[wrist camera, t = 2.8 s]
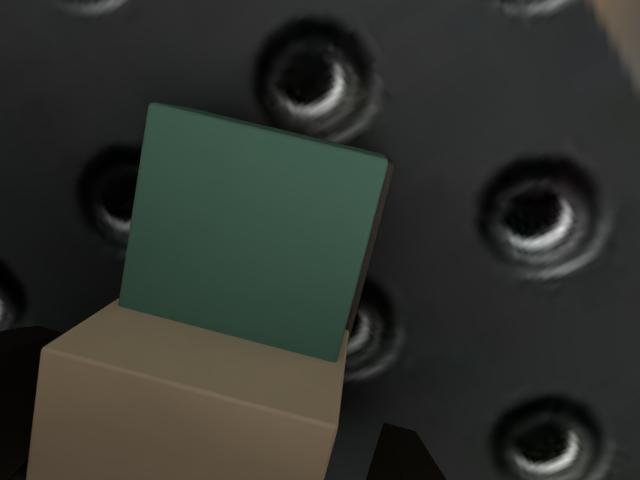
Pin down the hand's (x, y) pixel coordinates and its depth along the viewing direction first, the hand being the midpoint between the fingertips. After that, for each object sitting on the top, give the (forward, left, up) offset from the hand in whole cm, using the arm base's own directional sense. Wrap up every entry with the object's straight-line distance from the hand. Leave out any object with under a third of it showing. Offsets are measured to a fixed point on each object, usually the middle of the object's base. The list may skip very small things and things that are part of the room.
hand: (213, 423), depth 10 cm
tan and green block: (0, 0, -2) cm, 2 cm away
